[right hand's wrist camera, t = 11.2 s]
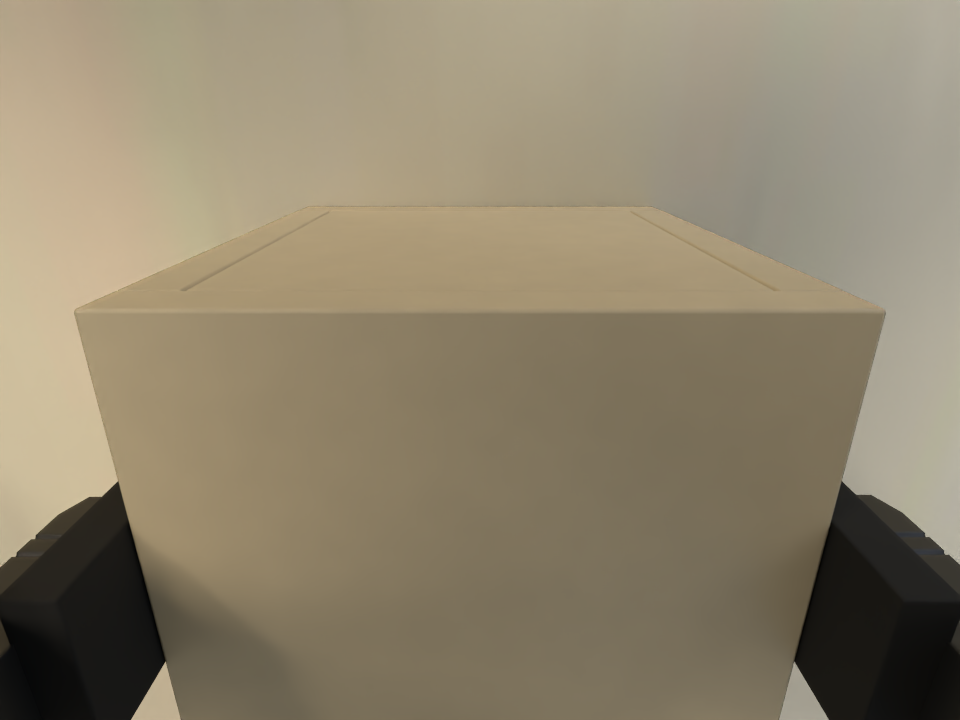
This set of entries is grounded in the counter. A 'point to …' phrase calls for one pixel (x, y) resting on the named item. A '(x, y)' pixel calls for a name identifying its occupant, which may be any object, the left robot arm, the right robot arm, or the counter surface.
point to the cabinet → (479, 463)
